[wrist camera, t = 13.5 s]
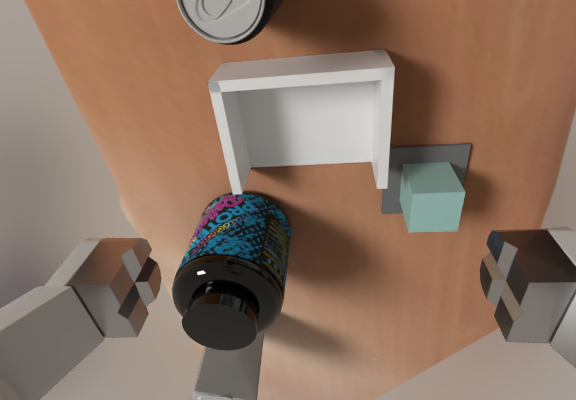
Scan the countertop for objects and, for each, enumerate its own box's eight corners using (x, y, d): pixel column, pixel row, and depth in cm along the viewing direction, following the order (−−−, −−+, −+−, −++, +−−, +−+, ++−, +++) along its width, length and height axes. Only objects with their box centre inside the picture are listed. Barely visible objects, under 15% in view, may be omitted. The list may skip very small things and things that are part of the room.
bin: (222, 63, 37) (207, 81, 32) (385, 49, 35) (394, 66, 30) (243, 166, 44) (232, 194, 39) (379, 159, 42) (387, 188, 37)
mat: (385, 147, 41) (385, 149, 41) (469, 143, 40) (471, 144, 40) (381, 211, 46) (381, 213, 46) (456, 209, 45) (457, 211, 45)
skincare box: (213, 318, 62) (183, 418, 49) (219, 291, 58) (188, 392, 45) (261, 329, 62) (245, 431, 50) (271, 304, 58) (256, 407, 45)
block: (402, 164, 42) (412, 193, 37) (448, 161, 41) (465, 191, 36) (399, 200, 45) (408, 232, 40) (442, 198, 44) (457, 231, 39)
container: (302, 248, 51) (295, 355, 38) (225, 263, 54) (193, 368, 41) (273, 178, 45) (252, 277, 32) (187, 199, 48) (135, 298, 35)
